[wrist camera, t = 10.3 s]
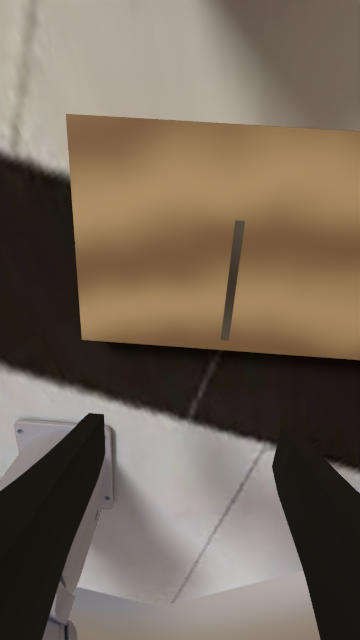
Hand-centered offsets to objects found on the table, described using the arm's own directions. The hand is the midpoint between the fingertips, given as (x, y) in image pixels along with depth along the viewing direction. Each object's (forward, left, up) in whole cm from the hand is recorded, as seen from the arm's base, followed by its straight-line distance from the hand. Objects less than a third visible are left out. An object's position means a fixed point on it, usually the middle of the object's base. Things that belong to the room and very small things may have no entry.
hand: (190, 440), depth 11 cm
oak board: (+7, -8, -9) cm, 14 cm away
